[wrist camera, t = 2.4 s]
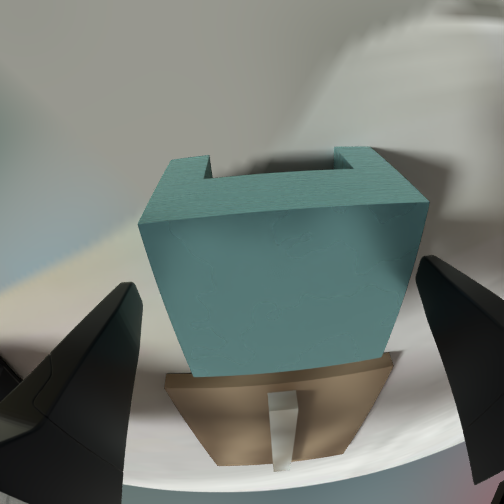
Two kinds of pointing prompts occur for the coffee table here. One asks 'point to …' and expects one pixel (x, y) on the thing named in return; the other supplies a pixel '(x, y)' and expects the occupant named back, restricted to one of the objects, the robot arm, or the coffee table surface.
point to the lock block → (283, 261)
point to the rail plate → (279, 411)
